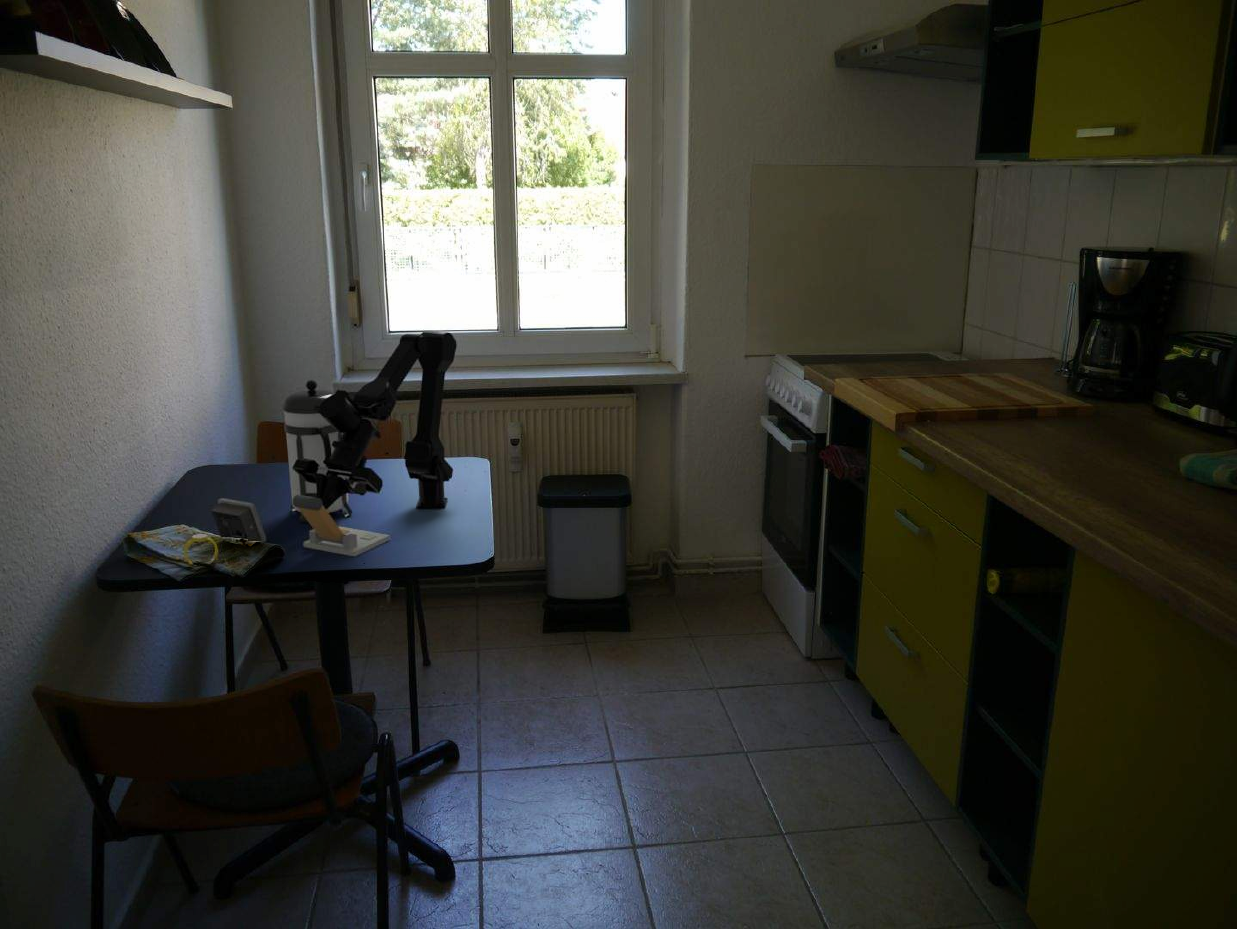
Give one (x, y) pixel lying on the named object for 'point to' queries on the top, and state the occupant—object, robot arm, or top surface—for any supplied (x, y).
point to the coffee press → (309, 441)
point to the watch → (199, 538)
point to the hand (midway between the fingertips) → (319, 512)
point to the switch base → (348, 541)
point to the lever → (319, 518)
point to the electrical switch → (238, 520)
